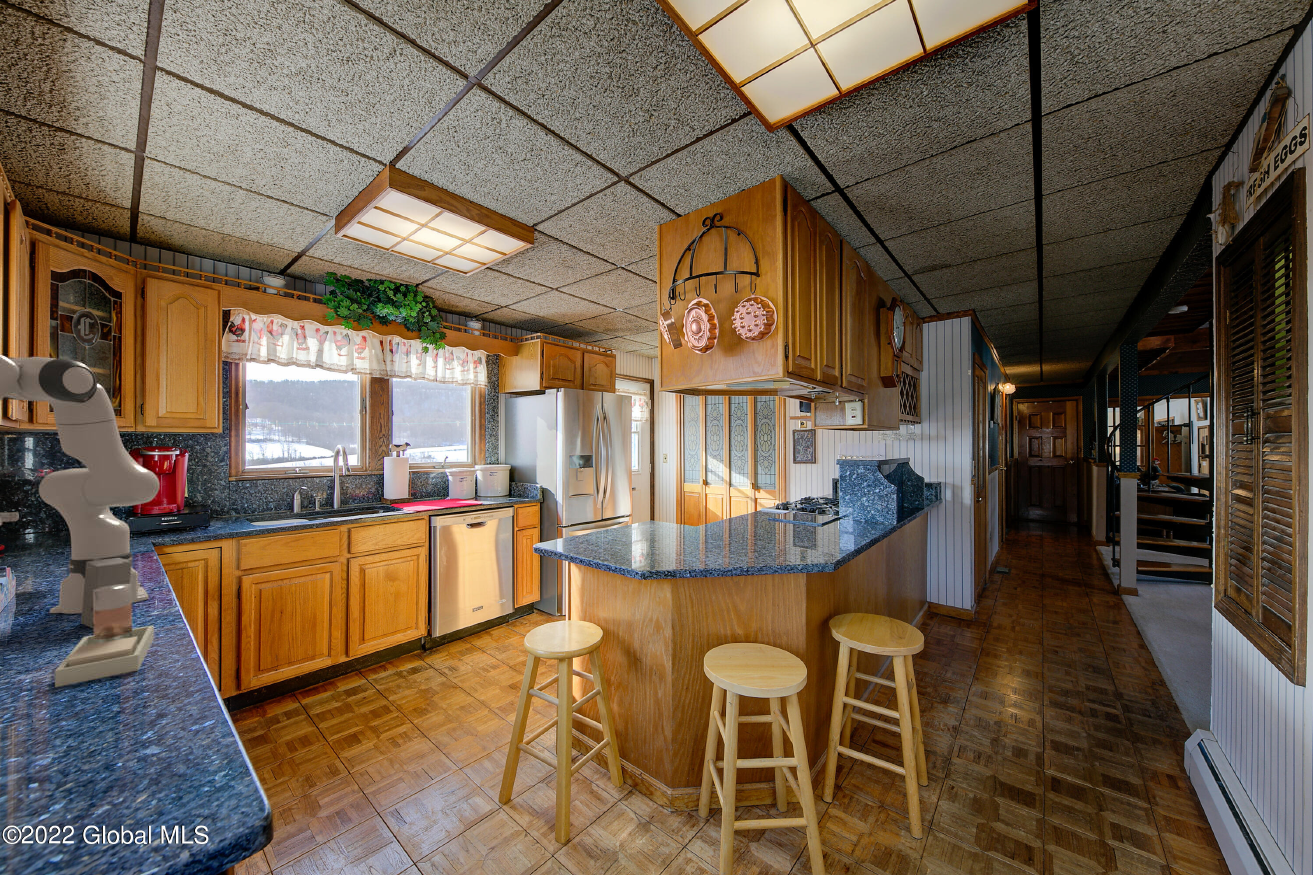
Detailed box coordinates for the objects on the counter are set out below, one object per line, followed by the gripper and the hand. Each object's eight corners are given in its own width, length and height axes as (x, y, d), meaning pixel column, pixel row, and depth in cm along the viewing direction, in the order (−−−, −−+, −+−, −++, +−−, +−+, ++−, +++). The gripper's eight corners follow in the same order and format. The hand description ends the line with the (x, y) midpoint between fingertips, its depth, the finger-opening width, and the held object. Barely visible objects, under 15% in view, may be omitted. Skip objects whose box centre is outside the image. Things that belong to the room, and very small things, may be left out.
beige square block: (79, 666, 101) (79, 646, 101) (137, 655, 106) (137, 636, 106) (68, 681, 95) (68, 660, 95) (130, 669, 100) (130, 648, 100)
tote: (83, 655, 109) (83, 636, 109) (153, 642, 116) (153, 625, 116) (55, 692, 93) (55, 670, 93) (138, 674, 100) (138, 654, 100)
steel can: (98, 652, 108) (96, 587, 108) (135, 645, 112) (133, 582, 112) (90, 660, 104) (89, 593, 104) (129, 653, 107) (128, 587, 107)
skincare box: (80, 624, 128) (80, 561, 128) (119, 615, 134) (119, 556, 134) (92, 629, 124) (92, 565, 124) (132, 620, 130) (132, 559, 130)
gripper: (-135, 516, 90) (-10, 509, 99) (-77, 505, 106) (26, 500, 115) (-135, 551, 90) (-10, 541, 99) (-77, 535, 106) (25, 527, 115)
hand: (9, 519), depth 107 cm, fingers open, 8 cm apart
